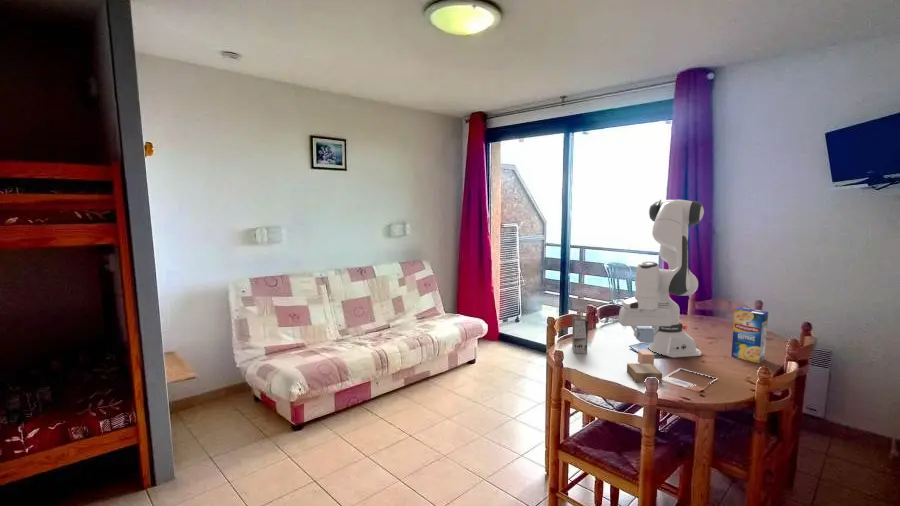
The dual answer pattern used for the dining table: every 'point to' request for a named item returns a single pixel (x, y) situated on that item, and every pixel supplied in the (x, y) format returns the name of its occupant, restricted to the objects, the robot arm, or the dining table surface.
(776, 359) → the dining table surface
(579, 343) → the coffee box
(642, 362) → the terracotta cube
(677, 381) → the photo frame
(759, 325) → the beverage box
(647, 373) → the walnut block
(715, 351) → the dining table surface
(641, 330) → the blue cube
